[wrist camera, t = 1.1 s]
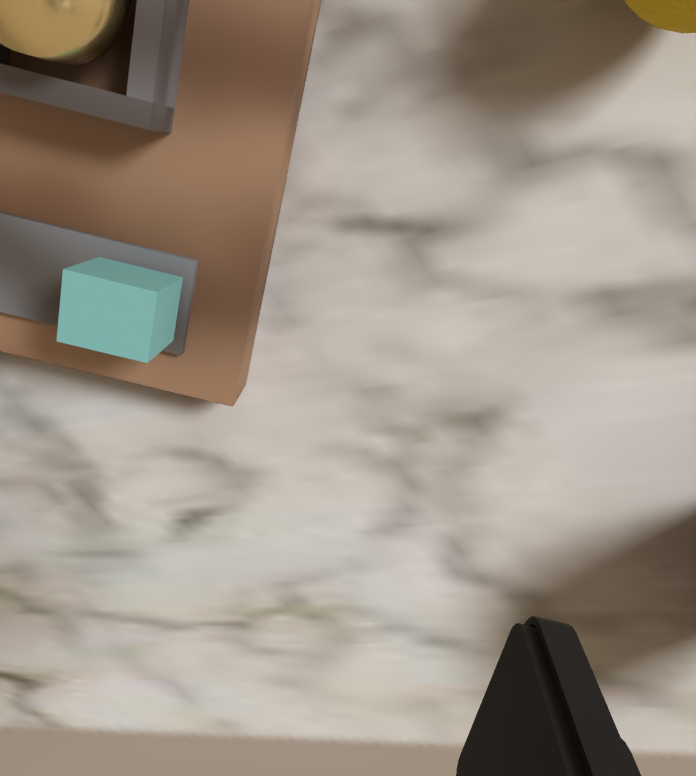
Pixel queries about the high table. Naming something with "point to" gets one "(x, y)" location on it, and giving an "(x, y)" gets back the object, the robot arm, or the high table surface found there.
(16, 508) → the high table surface
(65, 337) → the teal slider
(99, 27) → the brass button
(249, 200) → the panel
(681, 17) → the lemon
